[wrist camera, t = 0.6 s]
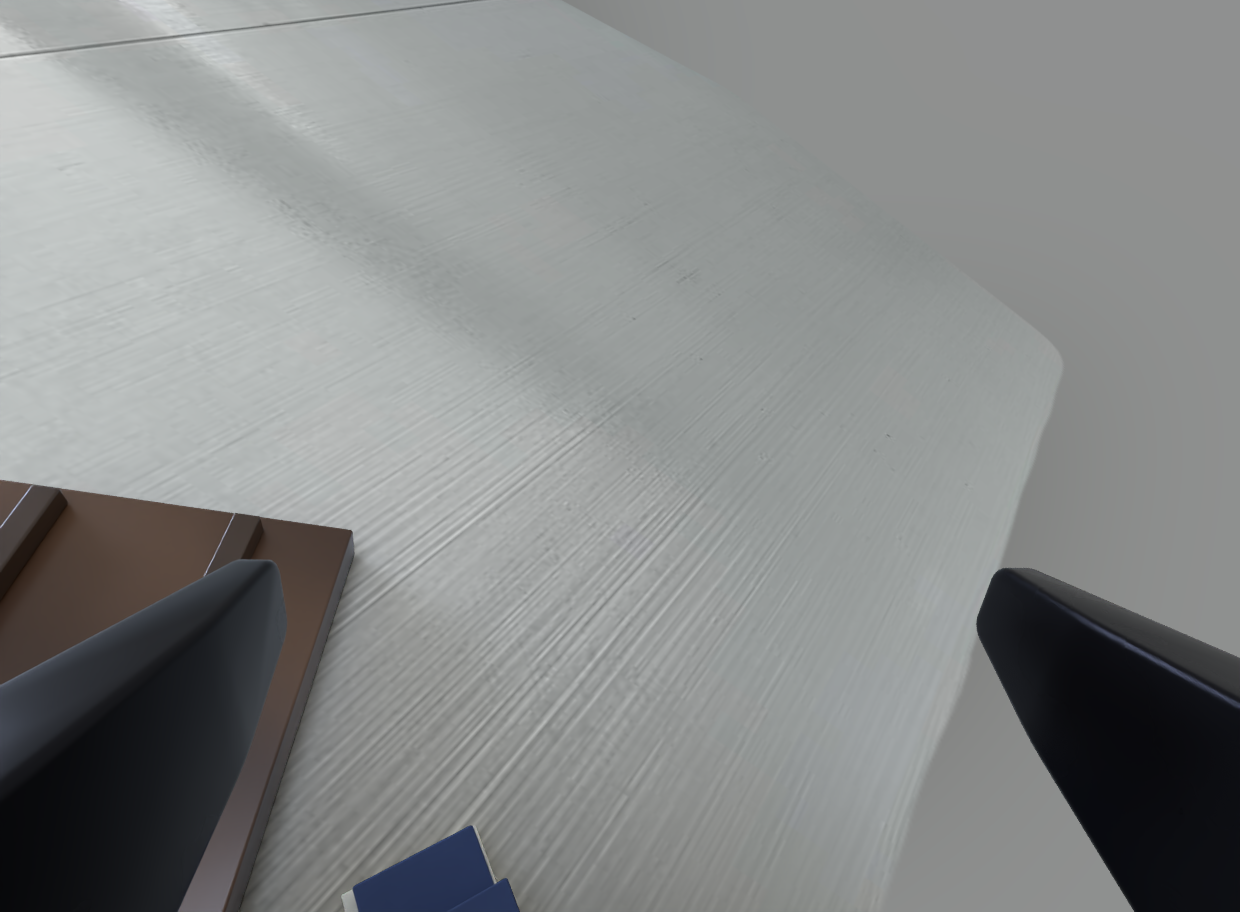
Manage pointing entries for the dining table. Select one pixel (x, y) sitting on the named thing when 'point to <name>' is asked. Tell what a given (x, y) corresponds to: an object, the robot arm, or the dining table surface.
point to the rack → (147, 572)
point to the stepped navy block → (436, 881)
